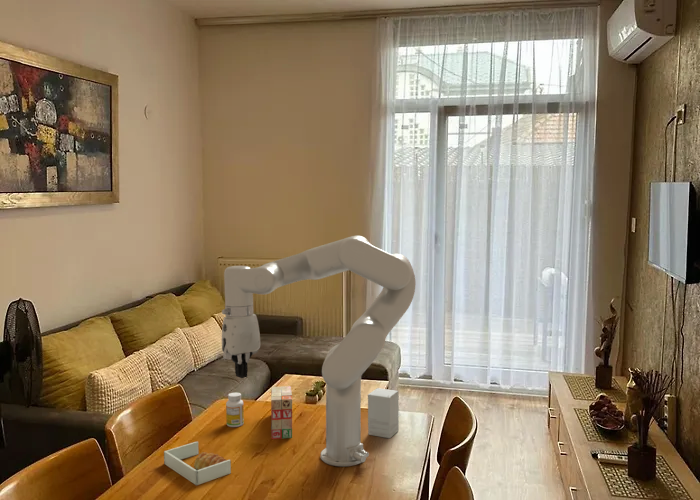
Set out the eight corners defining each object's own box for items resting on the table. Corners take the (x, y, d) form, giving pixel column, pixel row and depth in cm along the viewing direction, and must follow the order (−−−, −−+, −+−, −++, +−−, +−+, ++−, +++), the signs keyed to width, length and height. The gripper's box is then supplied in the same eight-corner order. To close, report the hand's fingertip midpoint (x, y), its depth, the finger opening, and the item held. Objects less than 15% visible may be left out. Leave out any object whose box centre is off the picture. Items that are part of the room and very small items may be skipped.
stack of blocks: (271, 414, 208) (271, 378, 207) (290, 413, 209) (290, 377, 208) (271, 439, 187) (270, 399, 186) (292, 438, 188) (292, 398, 187)
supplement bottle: (235, 420, 203) (234, 390, 202) (247, 423, 200) (246, 393, 199) (222, 425, 198) (222, 394, 198) (234, 428, 195) (234, 398, 194)
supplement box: (399, 430, 193) (399, 390, 192) (389, 439, 187) (389, 397, 186) (377, 426, 197) (377, 387, 196) (367, 434, 190) (367, 393, 189)
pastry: (235, 467, 168) (235, 454, 168) (220, 478, 162) (220, 464, 162) (207, 461, 172) (206, 448, 172) (191, 471, 166) (190, 457, 166)
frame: (230, 473, 164) (230, 460, 164) (196, 485, 157) (196, 471, 157) (197, 453, 177) (197, 441, 176) (164, 463, 170) (163, 451, 170)
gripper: (223, 316, 165) (225, 385, 166) (269, 309, 175) (271, 373, 177) (208, 313, 170) (210, 379, 172) (254, 305, 180) (255, 368, 182)
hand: (241, 376), depth 174 cm, fingers closed
